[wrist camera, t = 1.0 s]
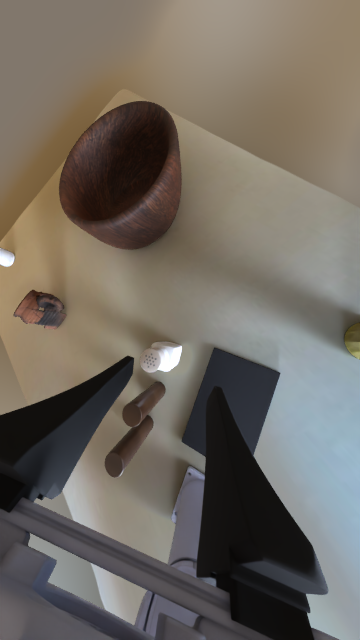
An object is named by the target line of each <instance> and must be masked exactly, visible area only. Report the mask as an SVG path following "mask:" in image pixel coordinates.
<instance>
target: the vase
mask: <svg viewBox="0 0 360 640" xmlns="http://www.w3.org/2000/svg"><path fill="white" fill-rule="evenodd" d="M344 342H345V345H346V347H347V349H348V351H349V352H350V353H351V354H352V355H353V356H355V357H356V358H358V359H360V322H359V323H357V324H354V325H353V326H351V327H350V328H349V329H348V330H347V332H346V334H345V337H344Z"/></svg>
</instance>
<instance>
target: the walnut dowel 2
mask: <svg viewBox="0 0 360 640" xmlns="http://www.w3.org/2000/svg"><path fill="white" fill-rule="evenodd" d="M152 428H153V420H152V418H151V417H150V416H148V415H146V417H145V418H144V419H143V420H142V421H141V422H140V424H139V425H138V426H136V427H132V428H131V429H130V430H129V431H128V433H127V434H126V435H125V436H124V437H123V438H122V439H121V440H120V441H119V442H118V444H117V445H116V446H115V447H114V448H113V449H112V450H111V451H110V452H109V454H108V455H107V456H106V459H105V468H106V471H107V472H108V474H109V475H110V476H112V477H119V476H120V475H121V474H122V472H123V471H124V469H125V468H126V467H127V465H128V464H129V462H130V461H131V459H132V458H133V456H134V455H135V453H136V452H137V450H138V449H139V447H140V446H141V444H142V443H143V441H144V440H145V438H146V437H147V435H148V434H149V432H150V431H151V430H152Z"/></svg>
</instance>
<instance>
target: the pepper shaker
mask: <svg viewBox="0 0 360 640" xmlns="http://www.w3.org/2000/svg"><path fill="white" fill-rule="evenodd" d="M181 351H182V346H181V345H179V344H176V343H172V342H168V341H163V342H154V343H153V344H152V346H151V348H149V349H147V350H145V351H143V353H142V355H141V356H140V364H141V366H142V369H144V370H145V371H146V372H152V373H153V372H155V371H156V370H161V371H165V372H166V371H169V370H171V369H172V368H173V367H175V366H176V365H177V364H178V363H179V359H180V355H181Z"/></svg>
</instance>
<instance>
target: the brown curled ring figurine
mask: <svg viewBox="0 0 360 640" xmlns="http://www.w3.org/2000/svg"><path fill="white" fill-rule="evenodd" d="M40 307H41V308H44V311H42V310H39V308H40ZM63 309H64V305H63V304H62V302H61V301H60V300H59V299H58V298H57V297H55V296H53V295H51V294H47V293H42V292H37V291H35V290H32V291H30V292H29V293H28V294H27V295H26V296H25V298H24V299H23V300H22V302H21V303H20V304H19V306H18V308H17V309H16V311H15V312H14V316H15V317H17V316H18V317H20V318H21V320H22V321H23V322H25V323H26V324H28V323H30V324H33V323H35V324H38V325H45V326H44V328H47V329H56V328H57V327H58V326H59V325H60V324H61V323H62V321H63V320H64V318H65V316H66V314H63V313H61V312H59V311H61V310H63Z"/></svg>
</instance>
